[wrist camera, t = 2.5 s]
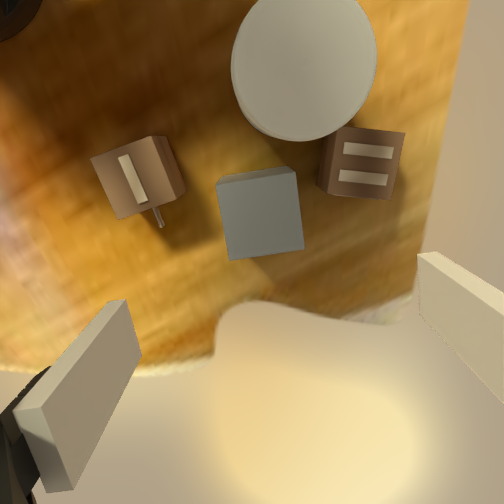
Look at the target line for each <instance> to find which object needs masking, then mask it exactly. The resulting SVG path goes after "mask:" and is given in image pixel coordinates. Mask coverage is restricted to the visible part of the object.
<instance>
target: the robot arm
mask: <svg viewBox="0 0 504 504" xmlns="http://www.w3.org/2000/svg"><path fill="white" fill-rule="evenodd" d="M41 1H42V0H0V41H3V40H5V39H8V38H10V37H12V36H13V35H15V34H17V33H18V32H19V31H21V30H22V29H23V28H24V27H25V26H26V25H27V24H28V23H29V22H30V21H31V19H32V18H33V16H34V15H35V13H36V12H37V10H38V8H39V6H40V4H41ZM417 260H418V284H419V311H420V316H421V317H422V318H423V319H424V320H425V321H426V322H427V323H428V324H429V325H430V326H431V328H432V329H433V330H434V331H435V332H436V333H437V334H438V335H439V336H440V337H441V338H442V339H443V340H444V341H445V342H446V344H447V345H448V346H449V347H450V348H451V349H452V350H453V351H454V352H455V353H456V354H457V355H458V356H459V357H460V358H461V360H462V361H463V362H464V363H465V364H466V365H467V366H468V367H469V368H470V369H471V370H472V371H473V372H474V373H475V374H476V375H477V377H478V378H479V379H480V380H481V381H482V382H483V383H484V384H485V385H486V386H487V387H488V388H489V389H490V391H491V392H492V393H493V394H494V395H495V396H496V397H497V398H498V399H499V400H500V401H501V402H502V403H503V404H504V293H503V292H501V291H500V290H498V289H496V288H495V287H493V286H491V285H490V284H488V283H487V282H485V281H483V280H482V279H480V278H479V277H477V276H475V275H474V274H472V273H471V272H469V271H467V270H466V269H464V268H463V267H461V266H459V265H458V264H456V263H454V262H453V261H451V260H450V259H448V258H447V257H445V256H443V255H442V254H440V253H439V252H437V251H434V252H428V253H421V254H417ZM141 356H142V354H141V350H140V347H139V343H138V340H137V336H136V333H135V329H134V326H133V322H132V319H131V315H130V312H129V309H128V305H127V302H126V299H123V300H116V301H110V302H108V303H107V304H106V305H105V306H104V307H103V308H102V309H101V310H100V312H99V313H98V314H97V315H96V316H95V317H94V318H93V320H92V321H91V322H90V323H89V324H88V325H87V326H86V328H85V329H84V330H83V331H82V332H81V333H80V334H79V336H78V337H77V338H76V339H75V340H74V341H73V342H72V343H71V345H70V346H69V347H68V348H67V349H66V350H65V351H64V353H63V354H62V355H61V356H60V357H59V358H58V359H57V361H56V362H55V363H54V364H53V365H52V366H49V367H47V368H46V369H44V370H43V371H42V372H40V373H39V374H37V375H36V376H35V377H34V378H33V379H32V380H31V381H30V382H29V383H28V384H27V385H26V388H25V389H23V390H22V391H21V392H20V393H19V394H18V397H17V398H15V399H14V400H13V401H12V402H11V403H10V404H9V405H8V406H7V407H6V409H5V410H4V411H3V412H2V413H1V414H0V504H36V500H35V497H34V495H33V493H32V491H31V490H32V488H33V487H34V485H35V483H36V482H37V480H38V479H39V477H40V478H41V481H42V483H43V485H44V488H45V490H46V493H53V492H61V491H69V490H74V488H75V486H76V484H77V482H78V480H79V478H80V476H81V474H82V472H83V470H84V468H85V466H86V464H87V462H88V460H89V459H90V457H91V455H92V453H93V451H94V449H95V447H96V445H97V443H98V441H99V439H100V437H101V435H102V433H103V431H104V429H105V427H106V425H107V423H108V421H109V419H110V417H111V415H112V413H113V411H114V409H115V407H116V405H117V403H118V402H119V400H120V398H121V396H122V394H123V391H124V389H125V388H126V386H127V384H128V382H129V380H130V378H131V376H132V374H133V372H134V370H135V368H136V366H137V364H138V362H139V360H140V358H141Z"/></svg>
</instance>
